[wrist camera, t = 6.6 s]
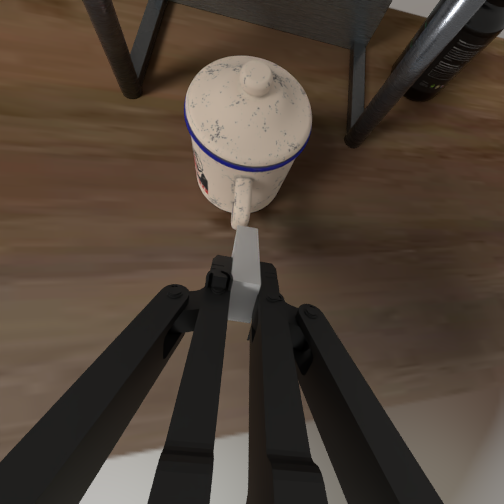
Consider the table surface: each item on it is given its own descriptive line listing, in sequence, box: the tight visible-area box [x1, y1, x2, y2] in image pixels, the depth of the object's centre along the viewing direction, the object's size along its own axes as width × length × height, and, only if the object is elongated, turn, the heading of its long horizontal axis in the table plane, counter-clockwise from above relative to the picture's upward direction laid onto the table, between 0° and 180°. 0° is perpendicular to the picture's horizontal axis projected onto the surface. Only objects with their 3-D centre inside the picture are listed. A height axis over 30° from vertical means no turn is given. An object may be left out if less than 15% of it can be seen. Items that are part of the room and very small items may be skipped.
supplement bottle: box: [391, 0, 504, 101], centre depth 26 cm, size 7×7×12 cm
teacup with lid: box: [184, 56, 312, 230], centre depth 19 cm, size 12×9×12 cm
